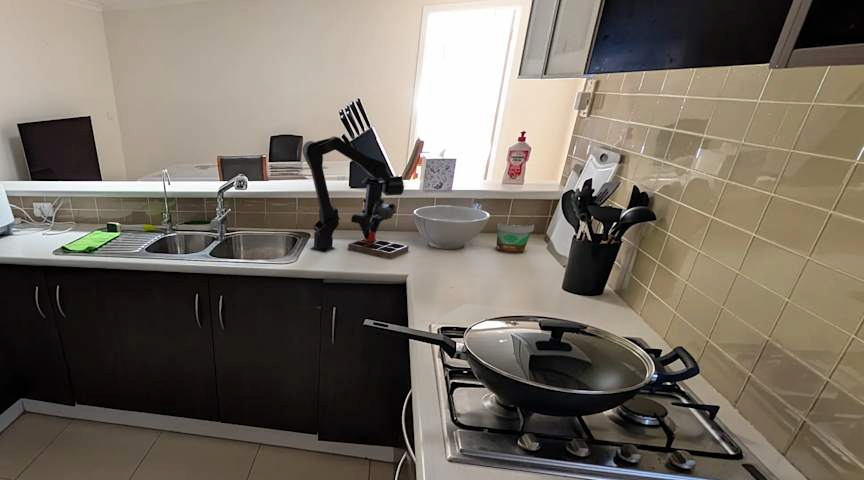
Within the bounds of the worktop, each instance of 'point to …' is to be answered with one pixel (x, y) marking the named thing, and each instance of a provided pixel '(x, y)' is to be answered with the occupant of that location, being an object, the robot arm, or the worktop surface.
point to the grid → (378, 248)
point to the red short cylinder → (371, 237)
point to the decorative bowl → (449, 225)
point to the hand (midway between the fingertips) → (369, 237)
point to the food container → (512, 238)
